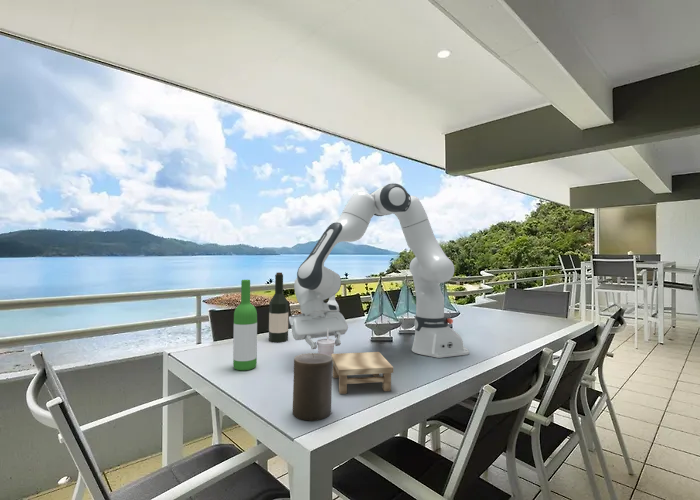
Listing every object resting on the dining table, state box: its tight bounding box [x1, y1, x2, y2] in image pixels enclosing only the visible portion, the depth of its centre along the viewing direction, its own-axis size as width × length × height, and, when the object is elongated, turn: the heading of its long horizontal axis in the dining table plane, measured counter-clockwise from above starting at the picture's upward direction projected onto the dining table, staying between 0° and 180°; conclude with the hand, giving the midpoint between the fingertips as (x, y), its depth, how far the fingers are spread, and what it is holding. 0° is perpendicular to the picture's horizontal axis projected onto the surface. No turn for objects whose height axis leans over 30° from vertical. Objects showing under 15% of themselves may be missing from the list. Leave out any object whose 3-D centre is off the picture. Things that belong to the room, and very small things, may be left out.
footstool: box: [331, 351, 394, 395], centre depth 114 cm, size 16×16×7 cm
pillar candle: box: [292, 352, 333, 422], centre depth 94 cm, size 10×10×15 cm
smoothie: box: [316, 328, 336, 356], centre depth 126 cm, size 6×6×14 cm
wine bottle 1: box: [232, 279, 258, 371], centre depth 127 cm, size 8×8×30 cm
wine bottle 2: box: [268, 272, 289, 344], centre depth 164 cm, size 8×8×30 cm
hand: (326, 346), depth 125 cm, fingers open, 8 cm apart
